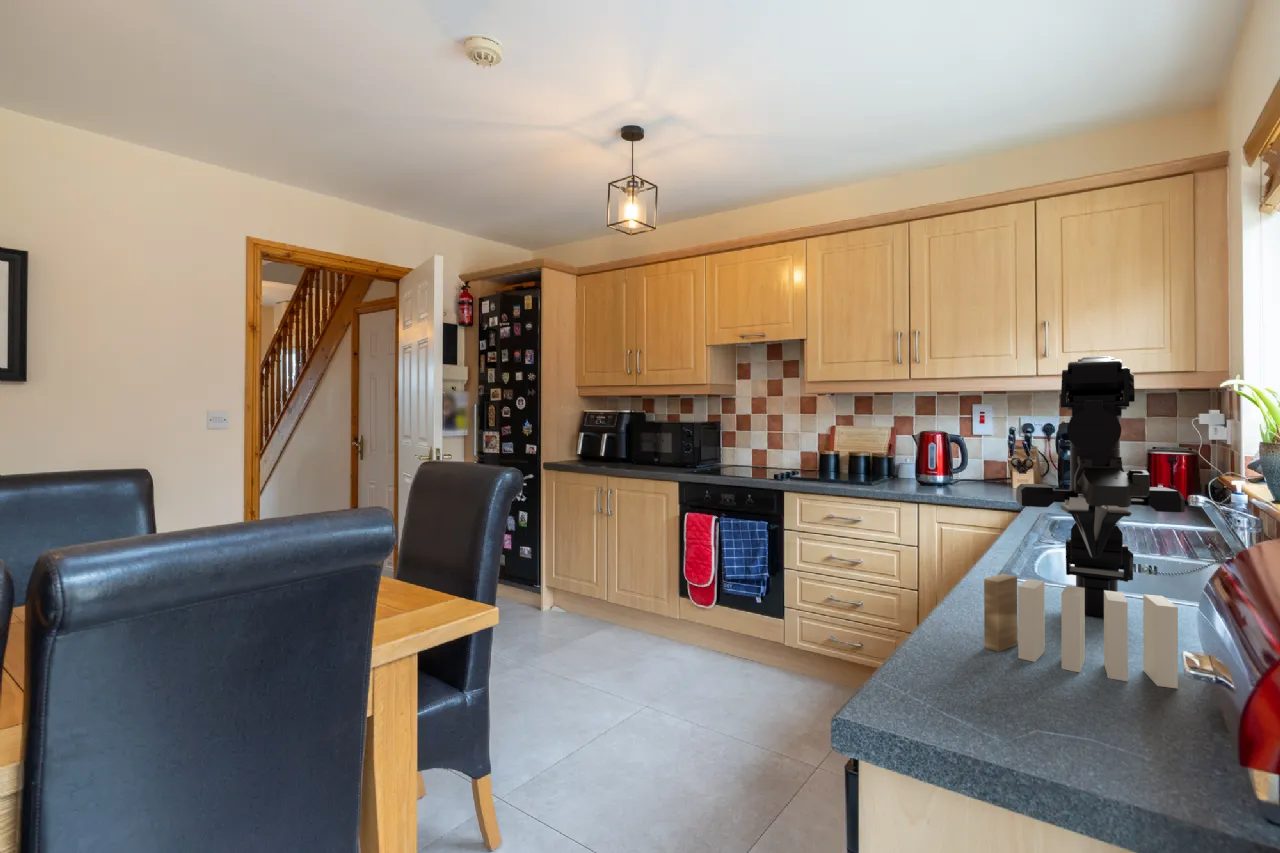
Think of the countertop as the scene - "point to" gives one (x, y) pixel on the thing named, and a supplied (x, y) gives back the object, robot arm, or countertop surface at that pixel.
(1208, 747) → the countertop surface
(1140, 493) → the robot arm
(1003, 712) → the countertop surface
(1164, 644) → the domino
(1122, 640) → the domino
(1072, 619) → the domino
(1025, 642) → the domino
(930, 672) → the countertop surface
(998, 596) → the domino
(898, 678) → the countertop surface
